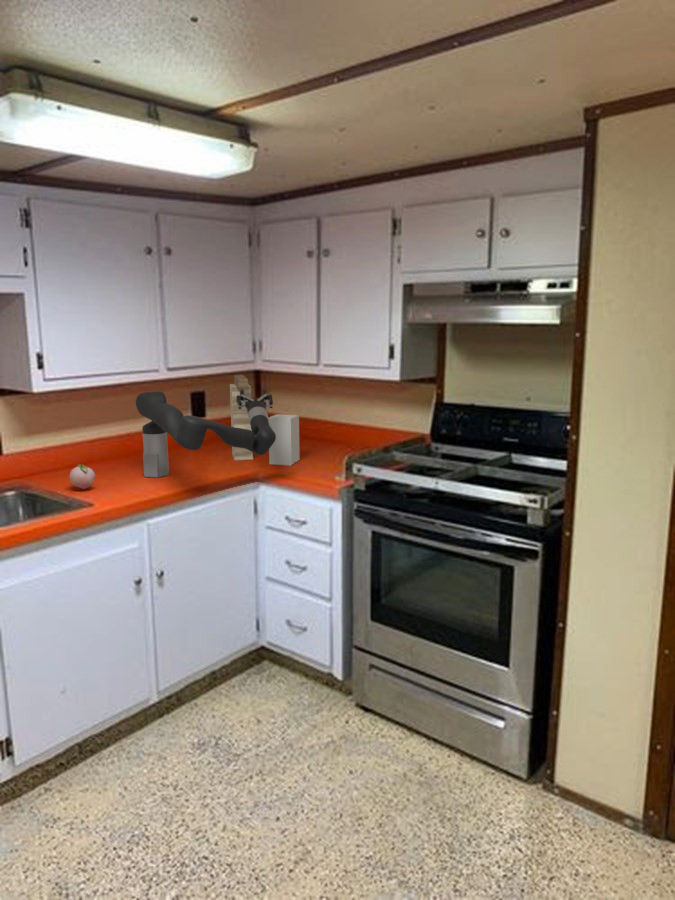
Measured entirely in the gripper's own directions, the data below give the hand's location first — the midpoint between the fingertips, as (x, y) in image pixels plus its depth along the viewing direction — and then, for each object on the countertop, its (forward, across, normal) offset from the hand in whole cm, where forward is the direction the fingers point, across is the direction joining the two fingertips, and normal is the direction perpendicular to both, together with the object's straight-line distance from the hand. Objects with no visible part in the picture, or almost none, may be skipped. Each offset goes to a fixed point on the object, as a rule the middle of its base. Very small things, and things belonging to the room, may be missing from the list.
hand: (252, 391), depth 281 cm
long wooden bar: (+15, -3, -8) cm, 17 cm away
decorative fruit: (-34, -66, -19) cm, 76 cm away
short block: (-11, +14, -30) cm, 35 cm away
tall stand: (+3, -2, -38) cm, 38 cm away
